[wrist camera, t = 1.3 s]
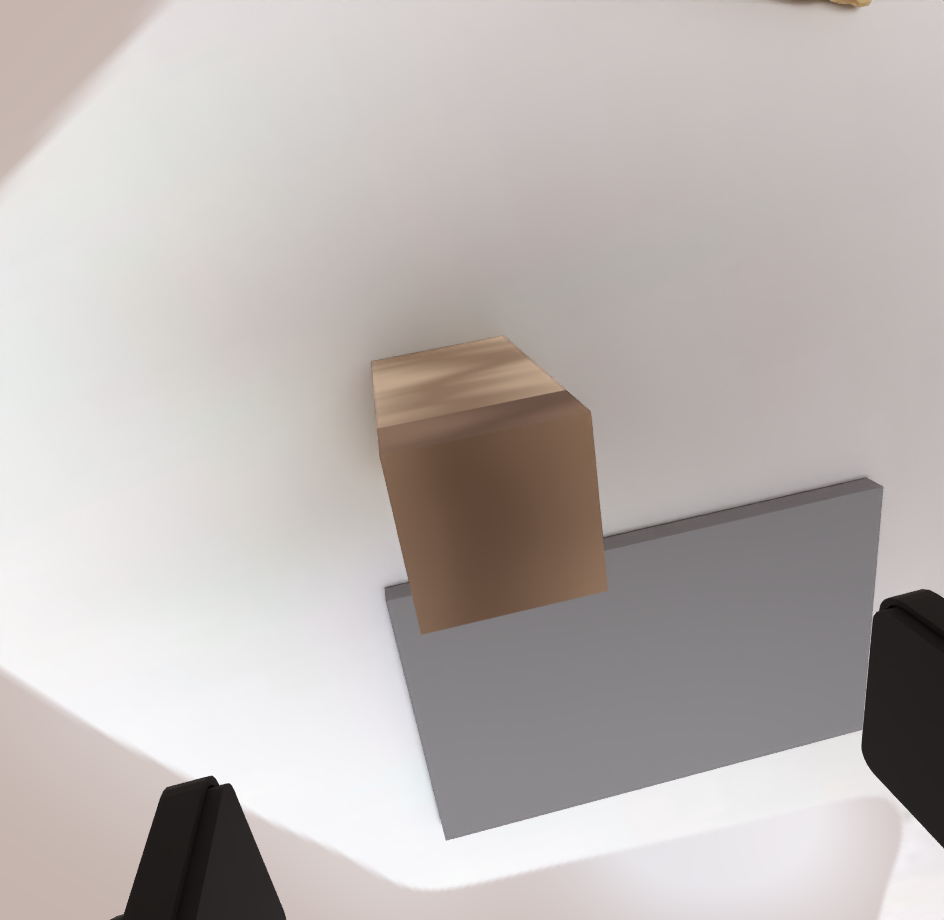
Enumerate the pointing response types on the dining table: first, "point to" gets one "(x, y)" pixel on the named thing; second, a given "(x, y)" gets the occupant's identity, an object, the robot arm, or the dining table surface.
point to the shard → (853, 2)
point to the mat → (653, 661)
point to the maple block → (488, 482)
